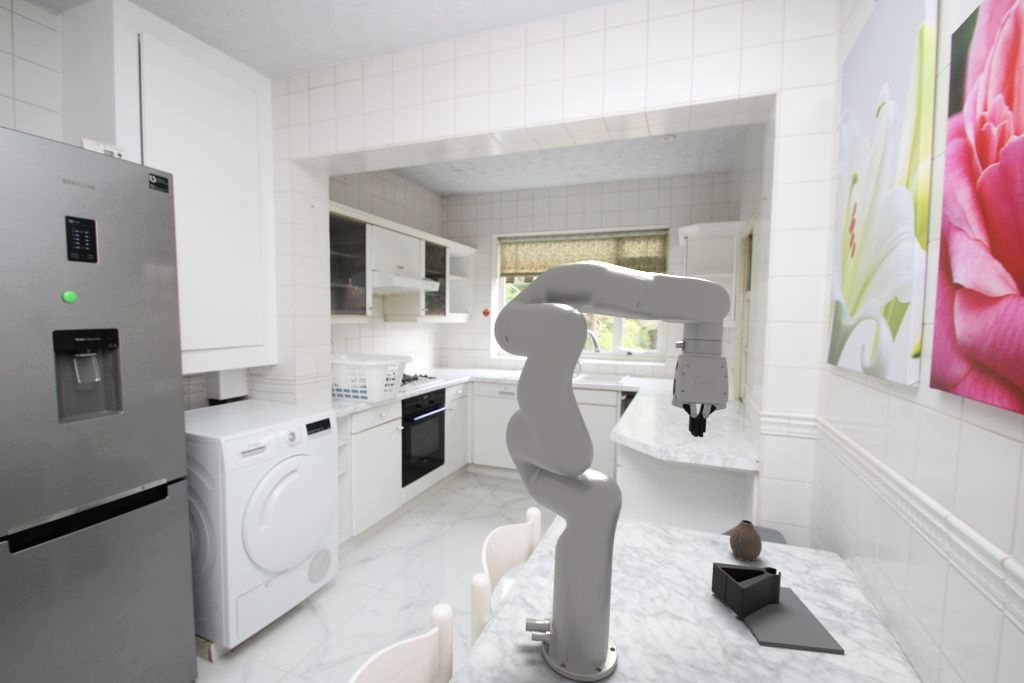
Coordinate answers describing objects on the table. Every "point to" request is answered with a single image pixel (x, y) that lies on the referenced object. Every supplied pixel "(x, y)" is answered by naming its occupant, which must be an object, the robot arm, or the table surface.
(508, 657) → the table surface
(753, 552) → the vase
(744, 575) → the phone stand
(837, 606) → the table surface
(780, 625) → the mat
